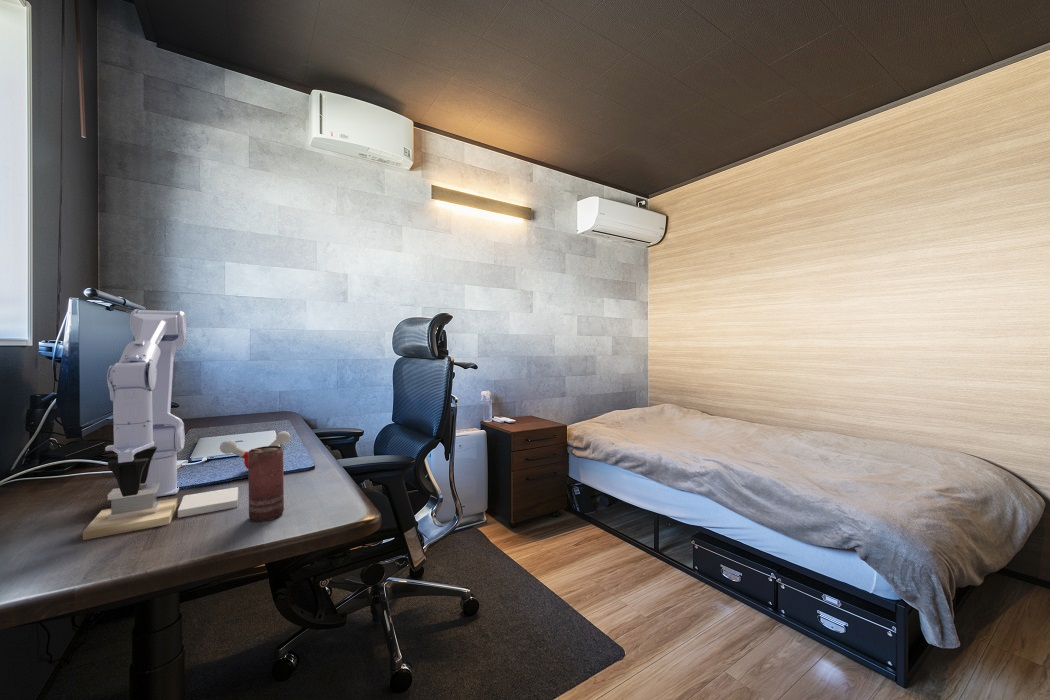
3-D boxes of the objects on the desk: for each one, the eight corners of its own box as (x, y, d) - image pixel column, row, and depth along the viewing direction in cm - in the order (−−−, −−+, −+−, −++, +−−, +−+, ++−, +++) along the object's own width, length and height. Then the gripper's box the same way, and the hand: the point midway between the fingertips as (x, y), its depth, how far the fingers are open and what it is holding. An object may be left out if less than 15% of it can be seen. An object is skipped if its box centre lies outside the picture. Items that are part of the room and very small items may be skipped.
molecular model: (224, 480, 108) (223, 442, 108) (215, 476, 112) (215, 439, 111) (293, 464, 123) (293, 430, 123) (284, 461, 126) (284, 428, 126)
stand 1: (102, 517, 86) (101, 509, 86) (177, 504, 92) (177, 497, 92) (82, 540, 76) (82, 531, 76) (169, 524, 82) (169, 516, 82)
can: (250, 513, 88) (250, 446, 87) (285, 508, 90) (284, 443, 90) (244, 524, 82) (243, 453, 82) (281, 519, 85) (280, 450, 84)
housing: (159, 506, 87) (159, 482, 87) (156, 512, 84) (155, 487, 84) (113, 513, 84) (113, 488, 84) (107, 520, 80) (107, 495, 80)
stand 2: (184, 502, 94) (183, 495, 94) (238, 493, 99) (238, 487, 99) (177, 517, 85) (177, 510, 85) (237, 507, 91) (237, 500, 91)
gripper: (115, 418, 87) (116, 482, 88) (94, 431, 75) (95, 505, 76) (159, 415, 91) (160, 476, 92) (146, 426, 79) (147, 497, 80)
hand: (134, 489), depth 84 cm, fingers open, 7 cm apart
